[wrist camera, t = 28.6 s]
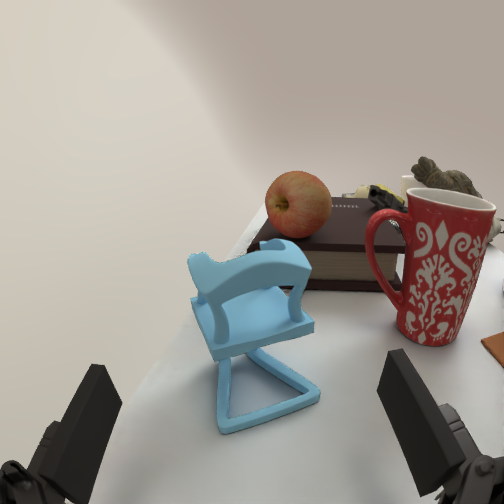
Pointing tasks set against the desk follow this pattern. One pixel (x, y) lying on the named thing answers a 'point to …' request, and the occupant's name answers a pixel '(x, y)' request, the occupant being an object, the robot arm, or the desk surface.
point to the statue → (442, 178)
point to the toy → (364, 192)
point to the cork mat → (495, 346)
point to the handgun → (385, 200)
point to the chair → (253, 320)
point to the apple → (298, 204)
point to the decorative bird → (495, 228)
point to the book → (344, 248)
